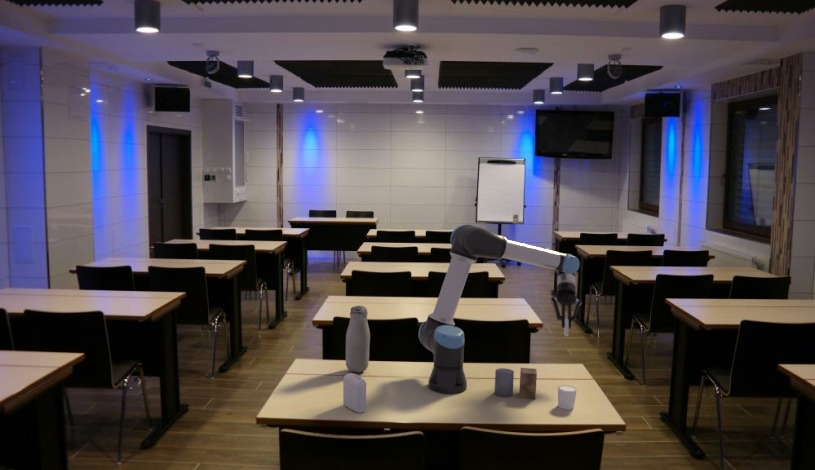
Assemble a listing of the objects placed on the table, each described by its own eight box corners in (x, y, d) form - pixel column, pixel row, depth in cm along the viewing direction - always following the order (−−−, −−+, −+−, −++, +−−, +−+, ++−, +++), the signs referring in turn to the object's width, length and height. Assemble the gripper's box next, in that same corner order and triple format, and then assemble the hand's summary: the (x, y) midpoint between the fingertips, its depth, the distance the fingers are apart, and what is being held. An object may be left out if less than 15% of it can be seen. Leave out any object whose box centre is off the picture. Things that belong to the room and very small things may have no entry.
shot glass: (554, 407, 234) (555, 389, 234) (559, 401, 240) (560, 383, 240) (573, 411, 231) (574, 392, 230) (577, 405, 237) (578, 387, 236)
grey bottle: (344, 375, 263) (345, 308, 260) (346, 367, 273) (347, 303, 270) (368, 375, 263) (369, 309, 260) (369, 367, 273) (371, 303, 270)
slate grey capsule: (494, 396, 244) (495, 373, 243) (494, 389, 251) (495, 367, 250) (512, 397, 243) (513, 375, 242) (512, 391, 250) (513, 369, 249)
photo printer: (341, 405, 231) (341, 372, 230) (351, 402, 234) (351, 369, 232) (357, 414, 223) (358, 380, 222) (367, 411, 226) (368, 377, 224)
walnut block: (519, 398, 243) (520, 372, 242) (519, 392, 249) (520, 367, 248) (535, 399, 242) (536, 373, 241) (535, 393, 248) (536, 368, 247)
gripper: (581, 292, 276) (581, 340, 262) (550, 290, 278) (549, 337, 264) (582, 282, 270) (583, 331, 256) (551, 280, 273) (550, 328, 258)
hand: (566, 334), depth 260 cm, fingers closed
